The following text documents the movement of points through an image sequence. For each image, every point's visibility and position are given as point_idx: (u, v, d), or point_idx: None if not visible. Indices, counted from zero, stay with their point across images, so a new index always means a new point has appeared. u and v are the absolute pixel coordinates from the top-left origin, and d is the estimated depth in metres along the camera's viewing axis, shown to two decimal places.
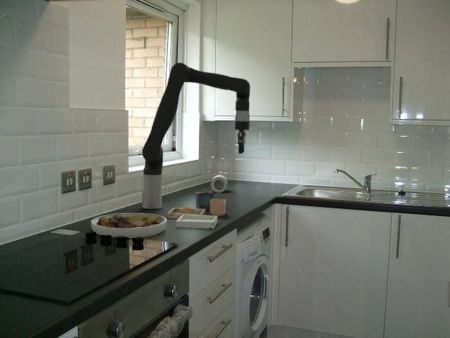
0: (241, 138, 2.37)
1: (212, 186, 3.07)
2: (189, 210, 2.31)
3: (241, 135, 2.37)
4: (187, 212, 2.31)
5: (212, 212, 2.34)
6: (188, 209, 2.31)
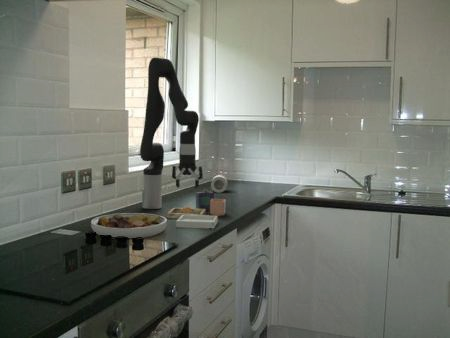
0: (202, 172, 2.31)
1: (212, 186, 3.07)
2: (189, 210, 2.31)
3: (201, 169, 2.31)
4: (187, 212, 2.31)
5: (212, 212, 2.34)
6: (188, 209, 2.31)
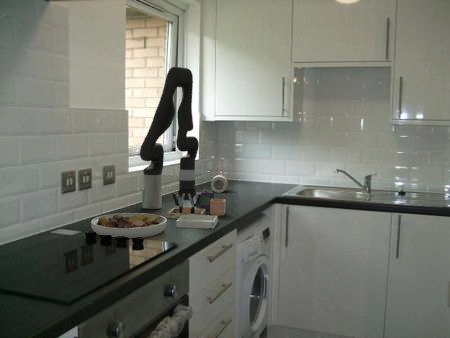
0: (199, 199, 2.32)
1: (212, 186, 3.07)
2: (189, 210, 2.31)
3: (200, 197, 2.32)
4: (187, 212, 2.31)
5: (212, 212, 2.34)
6: (188, 209, 2.31)
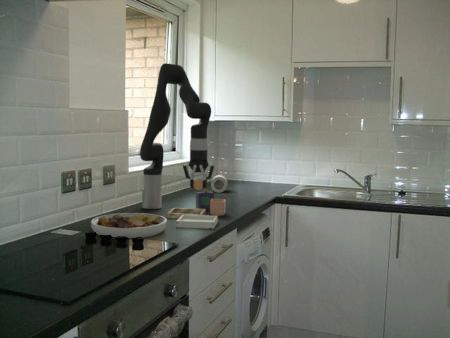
0: (212, 172, 2.12)
1: (212, 186, 3.07)
2: (201, 183, 2.11)
3: (213, 169, 2.12)
4: (199, 185, 2.11)
5: (212, 212, 2.34)
6: (200, 182, 2.11)
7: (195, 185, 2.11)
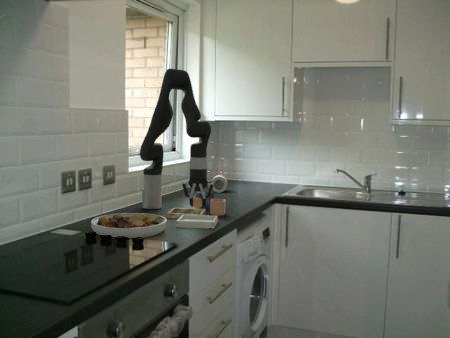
0: (211, 190, 2.13)
1: None
2: (200, 202, 2.12)
3: (212, 187, 2.13)
4: (198, 204, 2.11)
5: (212, 212, 2.34)
6: (199, 201, 2.12)
7: (194, 204, 2.12)
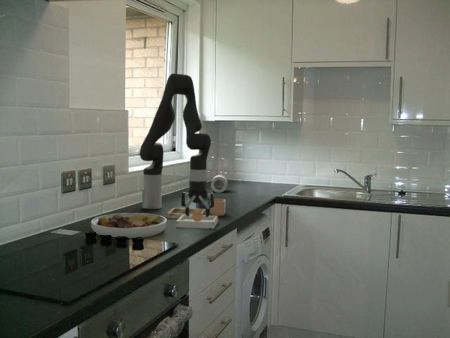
0: (213, 200, 2.13)
1: (212, 186, 3.07)
2: (200, 216, 2.13)
3: (213, 196, 2.13)
4: (198, 218, 2.12)
5: (212, 212, 2.34)
6: (199, 214, 2.12)
7: (194, 217, 2.12)
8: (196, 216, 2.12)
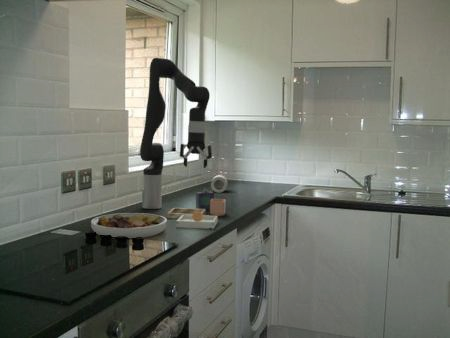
0: (211, 151, 2.21)
1: (212, 186, 3.07)
2: (200, 216, 2.13)
3: (211, 148, 2.21)
4: (198, 218, 2.12)
5: (212, 212, 2.34)
6: (199, 215, 2.12)
7: (194, 217, 2.12)
8: (196, 216, 2.12)
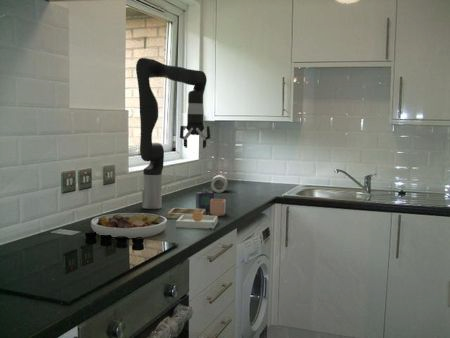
0: None
1: (212, 186, 3.07)
2: (200, 216, 2.13)
3: (209, 129, 2.31)
4: (198, 218, 2.12)
5: (212, 212, 2.34)
6: (199, 215, 2.12)
7: (194, 217, 2.12)
8: (196, 216, 2.12)
